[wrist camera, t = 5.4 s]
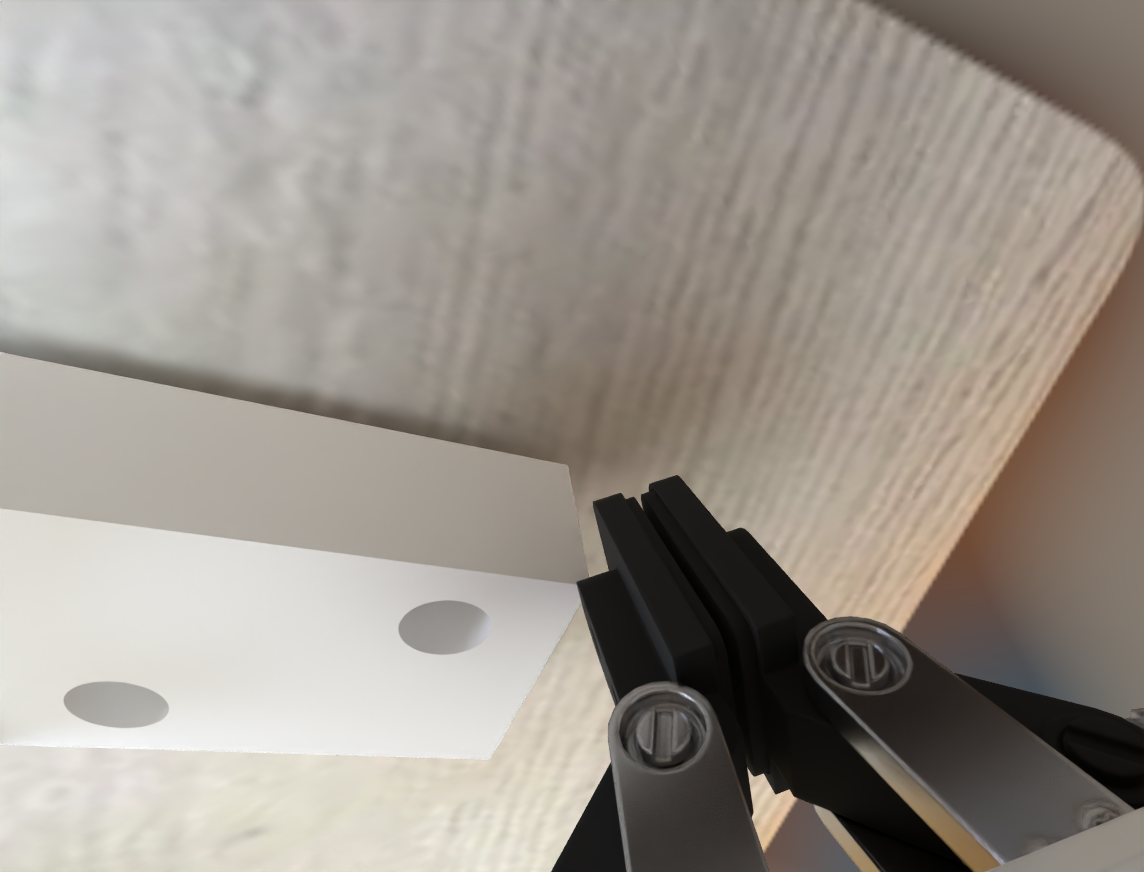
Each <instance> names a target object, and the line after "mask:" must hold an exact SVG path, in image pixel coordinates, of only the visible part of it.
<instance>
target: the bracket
mask: <svg viewBox="0 0 1144 872" xmlns="http://www.w3.org/2000/svg"><path fill="white" fill-rule="evenodd" d="M586 578H589V574H588V569H587V563H586V558H585V553H584V547H583V542H582V537H581V532H580V526H579V521H578V516H577V510H576V505H575V500H574V494H573V489H572V484H571V478H570V473H569V468H568V465H564V464H559V463H554V462H549V461H544V460H539V459H534V458H529V457H524V456H519V455H514V454H509V453H504V452H499V451H494V450H489V449H484V448H479V447H474V446H469V445H464V444H459V443H454V442H449V441H444V440H439V439H434V438H429V437H424V436H419V435H414V434H409V433H404V432H399V431H394V430H389V429H384V428H379V427H374V426H369V425H364V424H359V423H354V422H349V421H344V420H339V419H334V418H329V417H324V416H319V415H314V414H309V413H304V412H299V411H294V410H288V409H283V408H278V407H273V406H268V405H263V404H258V403H253V402H248V401H243V400H238V399H233V398H228V397H223V396H218V395H213V394H208V393H203V392H198V391H193V390H188V389H183V388H178V387H173V386H168V385H163V384H158V383H153V382H148V381H143V380H138V379H133V378H128V377H123V376H118V375H113V374H108V373H103V372H98V371H93V370H88V369H83V368H78V367H73V366H68V365H63V364H58V363H53V362H48V361H43V360H38V359H33V358H28V357H23V356H18V355H13V354H7V353H2V352H0V745H26V746H58V747H91V748H123V749H155V750H187V751H220V752H252V753H284V754H317V755H349V756H381V757H414V758H446V759H478V760H490V759H491V757H492V755H493V754H494V752H495V750H496V749H497V747H498V745H499V743H500V742H501V740H502V738H503V737H504V735H505V733H506V731H507V730H508V728H509V726H510V725H511V723H512V721H513V719H514V718H515V716H516V714H517V712H518V711H519V709H520V707H521V706H522V704H523V702H524V700H525V699H526V697H527V695H528V694H529V692H530V690H531V688H532V687H533V685H534V683H535V682H536V680H537V678H538V676H539V675H540V673H541V671H542V670H543V668H544V666H545V664H546V663H547V661H548V659H549V658H550V656H551V654H552V652H553V651H554V649H555V647H556V645H557V644H558V642H559V640H560V639H561V637H562V635H563V633H564V632H565V630H566V628H567V627H568V625H569V623H570V621H571V620H572V618H573V616H574V615H575V613H576V611H577V609H578V608H579V606H580V604H581V603H582V602H581V599H580V595H579V592H578V588H577V584H576V582H577V581H580V580H583V579H586Z"/></svg>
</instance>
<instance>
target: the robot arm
mask: <svg viewBox="0 0 1144 872" xmlns="http://www.w3.org/2000/svg"><path fill="white" fill-rule="evenodd" d="M641 501H642V506H643V510H642V508H641V506H640V505H639V503H638V502H637V500H636V499H635V498H634V497H631V498H628V499H625V498H624V497H623V495H622V494H621V493H619V494H615V495H612V496H609V497H606V498H603V499H600V500H596V501H593V508H594V512H595V516H596V520H597V524H598V529H599V533H600V537H601V541H602V545H603V549H604V553H605V557H606V561H607V565H608V569H609V571H607V572H604V573H601V574H598V575H595V576H592V577H589V578H586V579H583V580H580V581H577V582H576V584H577V588H578V592H579V595H580V599H581V602H582V606H583V610H584V613H585V617H586V620H587V623H588V627H589V630H590V633H591V636H592V639H593V643H594V646H595V649H596V652H597V655H598V658H599V661H600V663H601V666H602V669H603V672H604V675H605V678H606V681H607V683H608V686H609V689H610V692H611V695H612V698H613V701H614V704H615V706H616V707H615V708H614V710H613V713H612V715H611V718H610V721H609V723H608V743H609V750H610V758H611V763H610V765H609V767H608V768H607V770H606V772H605V774H604V776H603V778H602V779H601V781H600V783H599V785H598V787H597V789H596V790H595V792H594V794H593V796H592V798H591V800H590V801H589V803H588V805H587V807H586V809H585V811H584V812H583V814H582V816H581V818H580V820H579V822H578V823H577V825H576V827H575V829H574V831H573V833H572V834H571V836H570V838H569V840H568V842H567V844H566V845H565V847H564V849H563V851H562V853H561V855H560V856H559V858H558V860H557V862H556V864H555V866H554V867H553V869H552V871H551V872H770V871H769V868H768V865H767V862H766V859H765V856H764V853H763V850H762V847H761V844H760V841H759V838H758V835H757V833H756V830H755V827H754V824H753V821H752V815H753V805H752V798H751V791H750V784H749V777H748V770H747V767H748V769H749V771H750V772H751V774H752V775H753V776H754V777H755V776H758V775H761V774H763V773H764V775H765V777H766V778H767V780H768V782H769V784H770V786H771V787H772V789H773V791H774V793H775V794H778V793H781V792H783V791H786V790H789V789H790V791H791V792H792V794H793V796H794V797H796V798H799V799H802V800H804V801H806V802H809V803H812V804H814V807H815V810H816V812H817V814H818V815H819V817H820V819H821V820H822V822H823V823H824V825H825V826H826V828H827V829H828V830H829V831H830V833H831V834H832V835H833V836H834V838H835V839H836V840H837V841H838V843H839V844H840V845H841V847H842V848H843V849H844V850H845V852H846V853H847V854H848V855H849V856H850V858H851V859H852V860H853V862H854V863H855V864H856V865H857V867H858V868H859V869H860V870H861V872H1144V708H1139V709H1132V710H1131V713H1130V717H1129V718H1127V719H1124V718H1122V717H1119V716H1116V715H1114V714H1111V713H1108V712H1105V711H1102V710H1098V709H1096V708H1092V707H1088V706H1084V705H1080V704H1076V703H1072V702H1068V701H1064V700H1060V699H1056V698H1052V697H1048V696H1044V695H1040V694H1036V693H1032V692H1028V691H1024V690H1020V689H1016V688H1012V687H1008V686H1004V685H1000V684H996V683H992V682H988V681H984V680H980V679H976V678H972V677H968V676H964V675H960V674H956V673H953V672H952V671H950V670H949V669H948V668H946V667H945V666H944V665H942V664H941V663H940V662H938V661H937V660H936V659H934V658H933V657H932V656H930V655H929V654H928V653H927V652H925V651H924V650H923V649H921V648H920V647H918V646H917V645H916V644H915V643H913V642H912V641H911V640H909V639H908V638H907V637H905V636H904V635H903V634H901V633H900V632H898V631H896V630H895V629H893V628H891V627H890V626H888V625H886V624H883V623H881V622H878V621H875V620H872V619H869V618H860V617H852V616H849V617H838V618H833V619H830V620H827V619H826V617H825V616H824V615H823V614H822V613H821V612H820V611H819V610H818V609H817V607H816V606H815V605H814V604H813V603H812V602H811V601H810V600H809V599H808V597H807V596H806V595H805V594H804V593H803V592H802V591H801V590H800V589H799V588H798V586H797V585H796V584H795V583H794V582H793V581H792V580H791V579H790V578H789V576H788V575H787V574H786V573H785V572H784V571H783V570H782V569H781V568H780V566H779V565H778V564H777V563H776V562H775V561H774V560H773V559H772V558H771V556H770V555H769V554H768V553H767V552H766V551H765V550H764V549H763V548H762V546H761V545H760V544H759V543H758V542H757V541H756V540H755V539H754V538H753V536H752V535H751V534H750V533H749V532H748V531H746V530H745V529H743V528H738V529H735V530H732V531H729V532H726V531H725V530H724V529H723V528H722V527H721V525H720V524H719V523H718V522H717V521H716V519H715V518H714V517H713V516H712V515H711V513H710V512H709V511H708V510H707V509H706V507H705V506H704V505H703V504H702V503H701V501H700V500H699V499H698V498H697V497H696V495H695V494H694V493H693V492H692V491H691V490H690V488H689V487H688V486H687V485H686V484H685V482H684V481H683V480H682V479H681V478H680V477H679V476H678V475H675V476H672V477H669V478H666V479H663V480H660V481H656V482H653V483H650V484H649V492H647V493H644V494H641Z"/></svg>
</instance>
